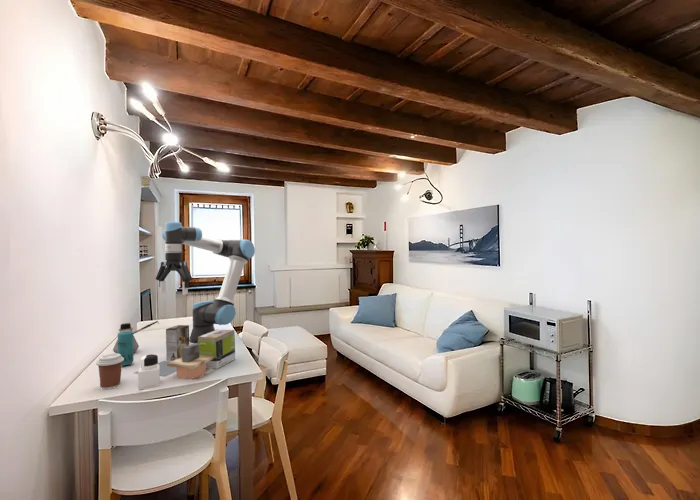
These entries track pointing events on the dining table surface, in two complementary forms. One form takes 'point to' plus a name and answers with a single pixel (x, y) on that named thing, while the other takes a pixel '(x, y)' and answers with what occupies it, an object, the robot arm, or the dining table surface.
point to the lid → (190, 358)
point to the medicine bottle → (148, 372)
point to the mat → (165, 369)
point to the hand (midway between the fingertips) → (173, 294)
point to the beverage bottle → (125, 344)
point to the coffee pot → (133, 338)
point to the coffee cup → (110, 370)
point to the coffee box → (176, 341)
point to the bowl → (191, 372)
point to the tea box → (218, 347)
